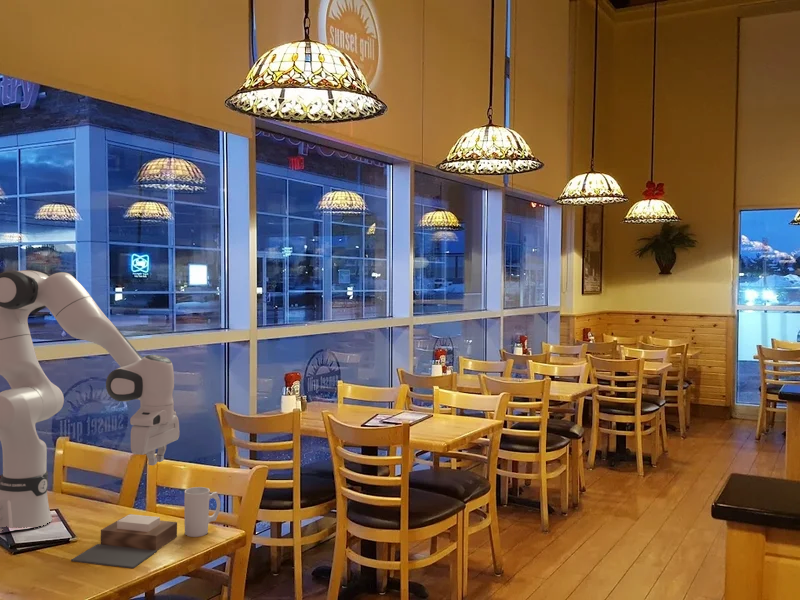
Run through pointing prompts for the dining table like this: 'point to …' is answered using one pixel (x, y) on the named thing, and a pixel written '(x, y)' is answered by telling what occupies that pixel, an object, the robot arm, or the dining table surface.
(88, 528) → the dining table surface
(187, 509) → the mug
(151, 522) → the grey flat block
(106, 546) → the bar mat
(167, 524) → the riser board
